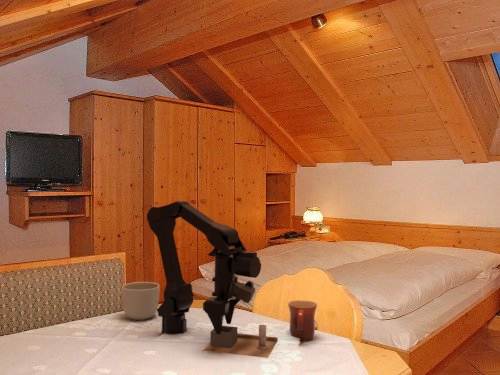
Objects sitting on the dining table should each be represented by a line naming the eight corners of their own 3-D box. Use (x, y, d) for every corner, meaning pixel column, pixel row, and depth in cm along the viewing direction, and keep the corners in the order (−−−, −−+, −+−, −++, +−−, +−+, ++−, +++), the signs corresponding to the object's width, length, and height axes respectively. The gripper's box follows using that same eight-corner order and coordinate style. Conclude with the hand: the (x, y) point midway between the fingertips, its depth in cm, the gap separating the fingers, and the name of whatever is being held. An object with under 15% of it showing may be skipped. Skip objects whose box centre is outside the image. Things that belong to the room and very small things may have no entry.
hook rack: (202, 354, 120) (202, 327, 120) (217, 338, 133) (218, 314, 133) (267, 362, 116) (268, 334, 116) (277, 345, 129) (277, 320, 128)
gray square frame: (210, 346, 124) (210, 331, 124) (217, 338, 129) (217, 325, 129) (231, 348, 122) (231, 333, 122) (237, 341, 128) (237, 327, 128)
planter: (122, 313, 158) (122, 282, 158) (158, 311, 161) (158, 281, 161) (121, 324, 146) (121, 290, 146) (159, 321, 149) (160, 289, 149)
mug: (289, 332, 140) (289, 299, 140) (317, 334, 138) (317, 301, 138) (284, 345, 128) (284, 309, 128) (315, 348, 127) (315, 311, 127)
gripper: (243, 282, 115) (242, 343, 115) (260, 269, 133) (259, 321, 133) (202, 279, 117) (201, 338, 118) (224, 266, 135) (223, 318, 136)
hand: (223, 328), depth 126 cm, fingers open, 9 cm apart
